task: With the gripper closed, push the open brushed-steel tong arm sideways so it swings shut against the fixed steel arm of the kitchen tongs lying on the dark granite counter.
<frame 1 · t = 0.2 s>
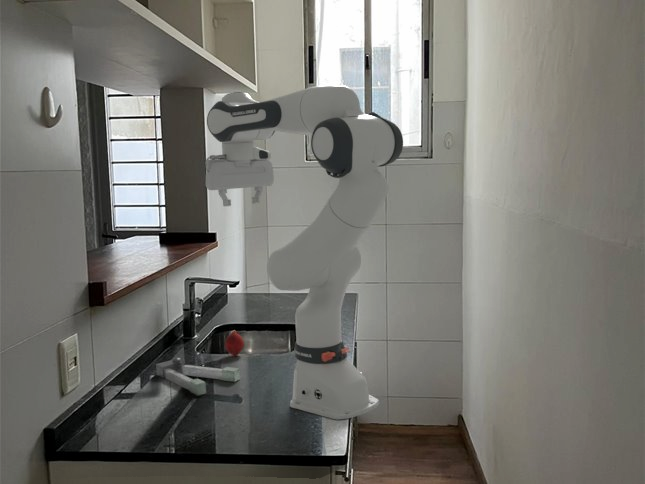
hand: (241, 204, 178), 47 cm above the counter, fingers open, 8 cm apart
tong arm: (204, 369, 179), point 2 cm above the counter, hinge at 25.0°
tong base: (181, 384, 175), on the counter
onion: (235, 356, 198), on the counter
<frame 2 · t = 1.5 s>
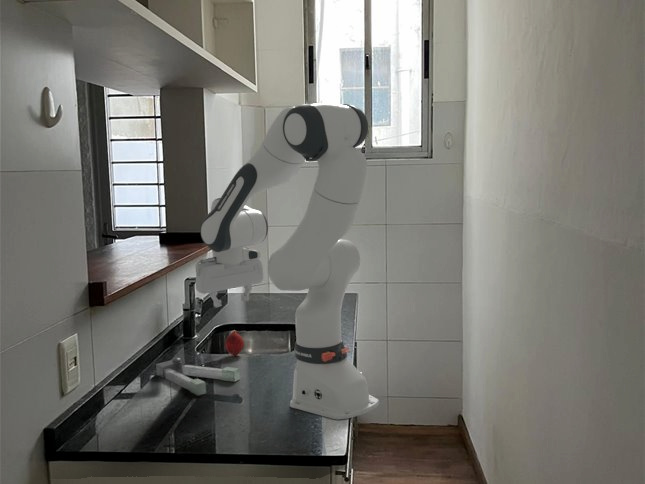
hand: (231, 303, 181), 20 cm above the counter, fingers open, 8 cm apart
nothing on the counter moved.
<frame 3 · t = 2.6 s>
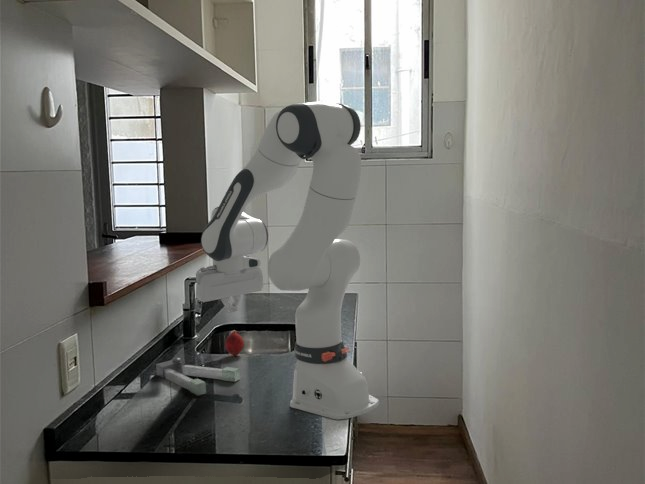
hand: (231, 311, 181), 17 cm above the counter, fingers closed
nothing on the counter moved.
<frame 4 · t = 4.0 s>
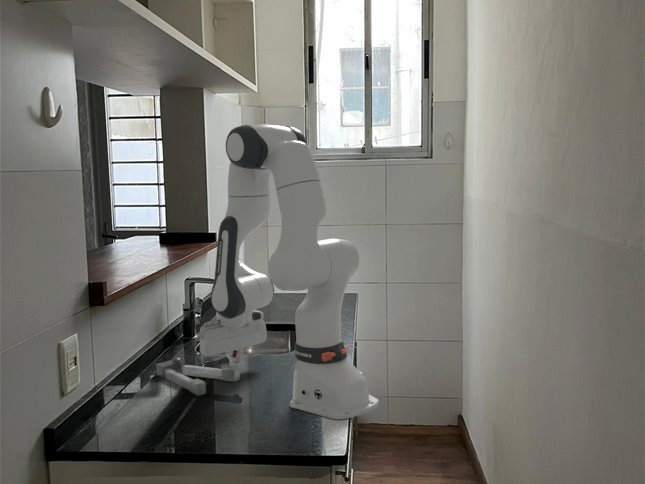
hand: (235, 364, 183), 2 cm above the counter, fingers closed
nothing on the counter moved.
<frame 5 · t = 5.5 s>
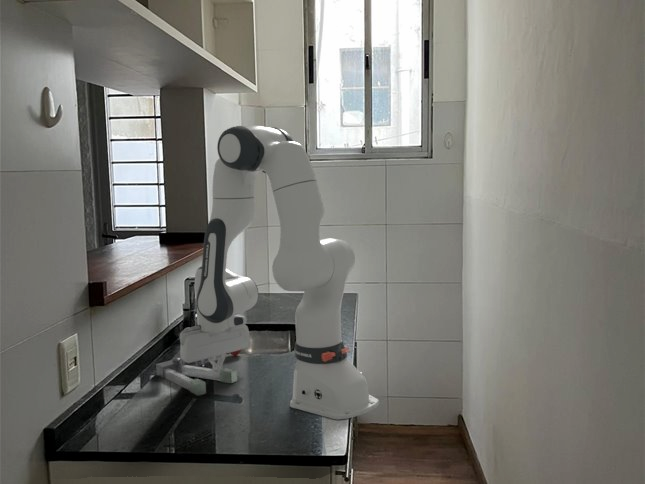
hand: (217, 370, 179), 2 cm above the counter, fingers closed
tong arm: (203, 369, 179), point 2 cm above the counter, hinge at 21.2°, touching gripper
everything else where it was.
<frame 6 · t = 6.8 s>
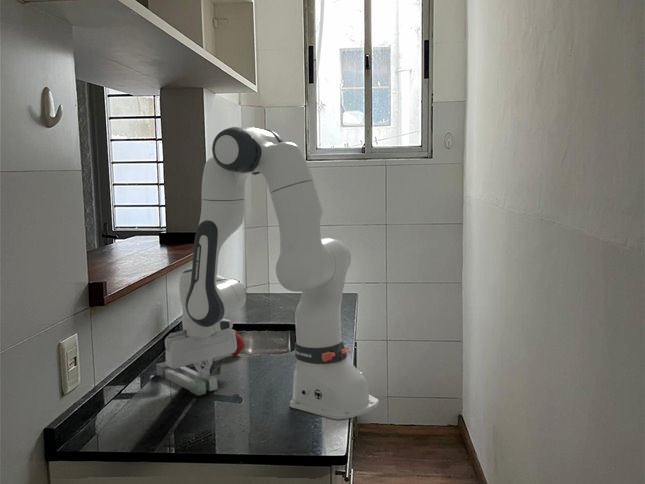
hand: (204, 376, 176), 2 cm above the counter, fingers closed
tong arm: (193, 373, 176), point 2 cm above the counter, hinge at -0.1°, touching gripper
everything else where it was.
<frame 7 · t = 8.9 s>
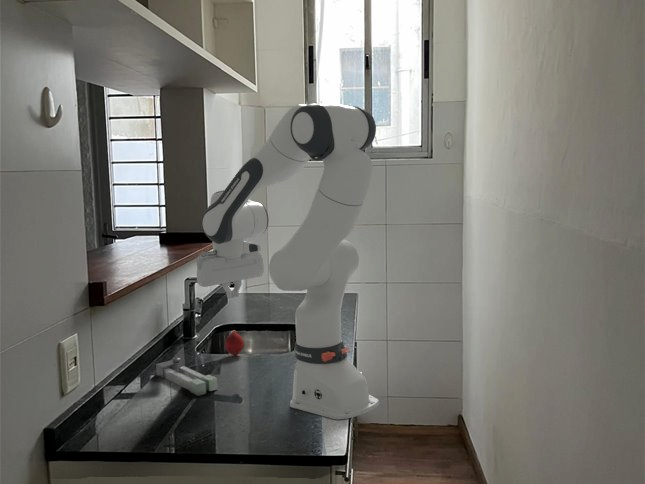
hand: (232, 297, 181), 21 cm above the counter, fingers closed
tong arm: (193, 373, 176), point 2 cm above the counter, hinge at -0.1°
everything else where it was.
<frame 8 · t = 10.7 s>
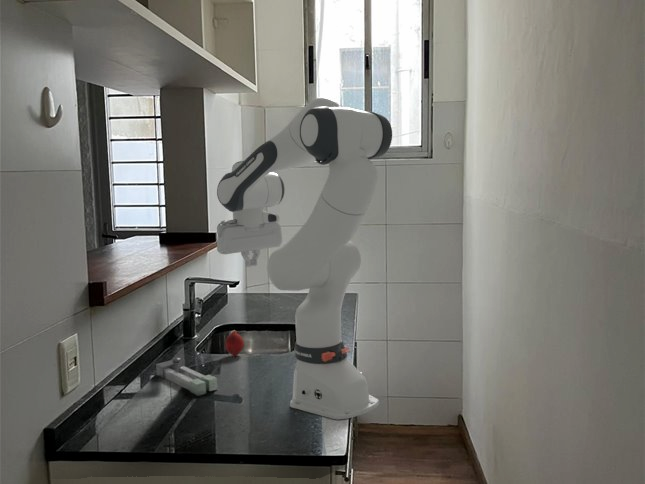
hand: (251, 266, 185), 29 cm above the counter, fingers closed
nothing on the counter moved.
at the end: tong arm at +0° (first picture: +25°); onion moved 0.2 cm from its start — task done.
